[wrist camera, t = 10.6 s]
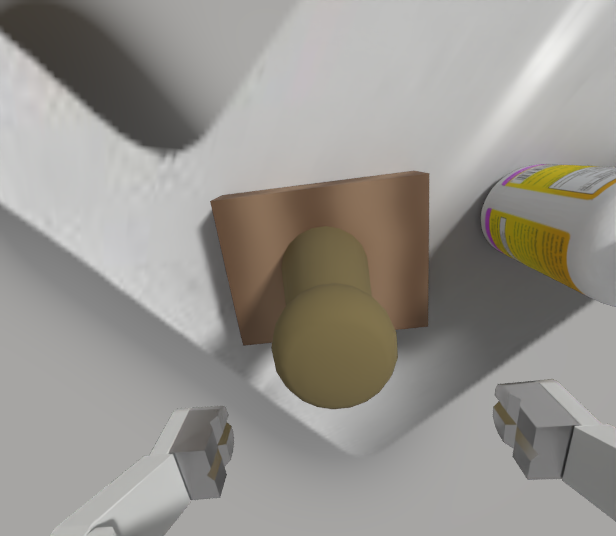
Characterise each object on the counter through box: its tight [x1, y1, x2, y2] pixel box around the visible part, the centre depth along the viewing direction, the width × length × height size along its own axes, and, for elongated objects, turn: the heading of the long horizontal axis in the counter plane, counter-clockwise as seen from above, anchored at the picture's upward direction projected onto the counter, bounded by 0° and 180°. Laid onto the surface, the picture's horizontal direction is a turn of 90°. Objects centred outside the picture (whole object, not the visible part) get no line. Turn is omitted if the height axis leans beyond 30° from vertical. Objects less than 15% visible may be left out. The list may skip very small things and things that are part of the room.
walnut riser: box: [210, 171, 429, 345], centre depth 23 cm, size 14×11×3 cm
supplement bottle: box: [481, 164, 616, 307], centre depth 17 cm, size 7×7×13 cm
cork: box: [271, 226, 398, 409], centre depth 17 cm, size 6×6×11 cm
